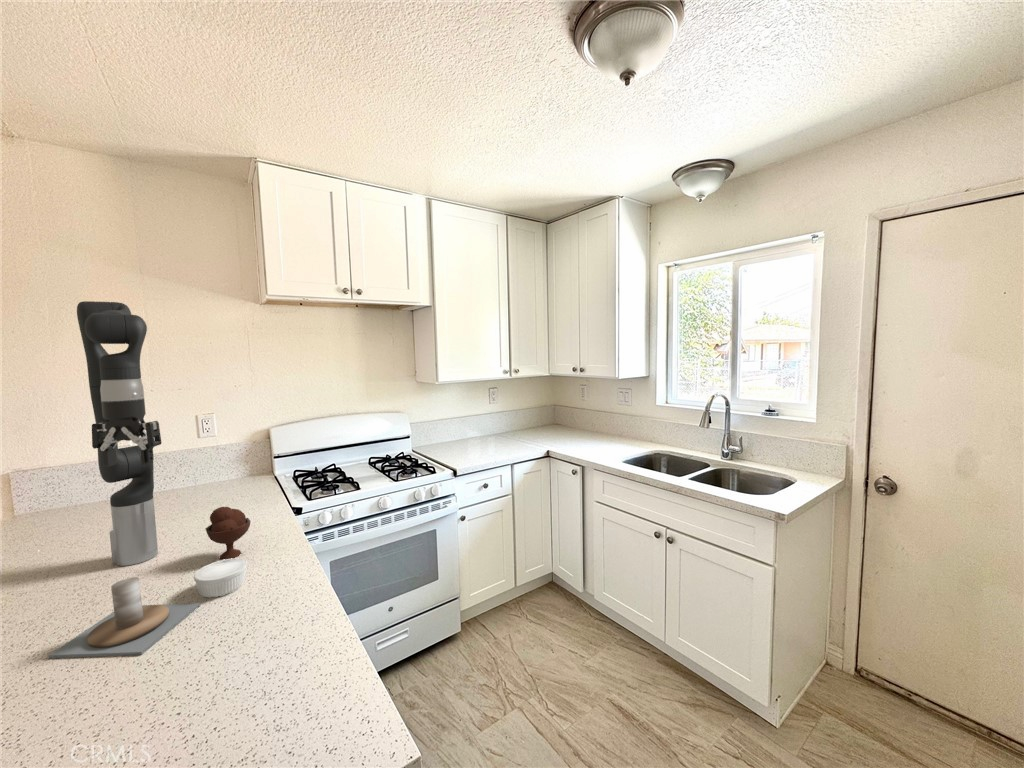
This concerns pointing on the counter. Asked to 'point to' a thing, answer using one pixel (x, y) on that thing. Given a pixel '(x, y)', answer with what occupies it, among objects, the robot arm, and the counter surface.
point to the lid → (127, 616)
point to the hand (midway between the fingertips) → (129, 464)
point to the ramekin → (221, 577)
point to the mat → (132, 647)
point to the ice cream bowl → (227, 529)
